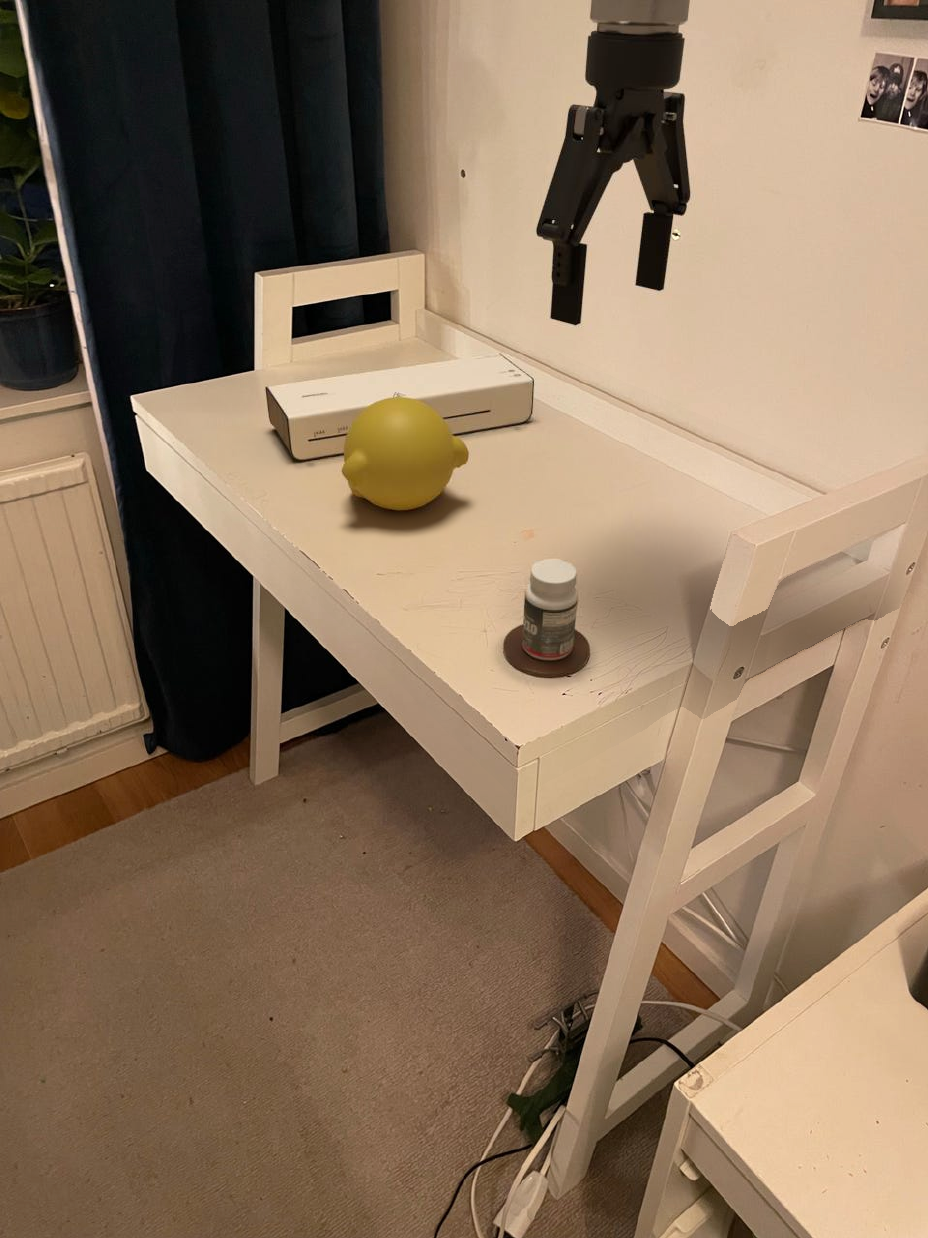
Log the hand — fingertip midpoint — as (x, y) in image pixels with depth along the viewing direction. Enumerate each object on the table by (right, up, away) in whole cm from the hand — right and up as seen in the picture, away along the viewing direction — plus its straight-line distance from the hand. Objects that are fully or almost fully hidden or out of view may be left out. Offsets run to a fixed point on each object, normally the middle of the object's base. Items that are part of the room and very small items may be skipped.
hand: (609, 303), depth 85 cm
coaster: (-6, -32, +1) cm, 32 cm away
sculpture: (-21, -15, +25) cm, 36 cm away
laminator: (-22, -2, +43) cm, 48 cm away
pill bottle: (-6, -31, +1) cm, 32 cm away
